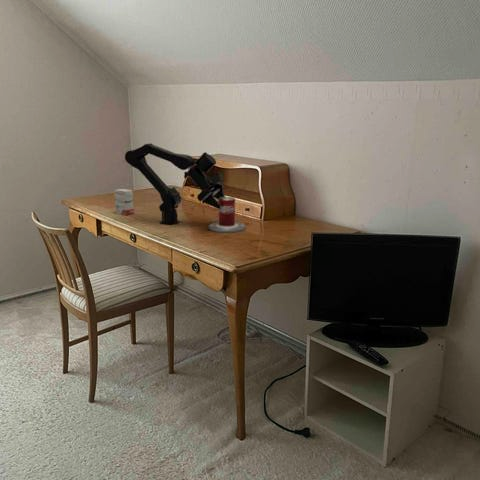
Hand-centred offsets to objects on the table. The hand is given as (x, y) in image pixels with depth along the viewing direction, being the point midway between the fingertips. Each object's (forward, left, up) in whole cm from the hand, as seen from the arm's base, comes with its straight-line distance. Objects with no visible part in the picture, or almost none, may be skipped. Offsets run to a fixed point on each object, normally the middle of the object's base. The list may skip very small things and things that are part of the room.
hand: (223, 206), depth 217 cm
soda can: (+1, 0, -9) cm, 9 cm away
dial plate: (+2, 0, -10) cm, 10 cm away
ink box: (-55, -5, -10) cm, 57 cm away
